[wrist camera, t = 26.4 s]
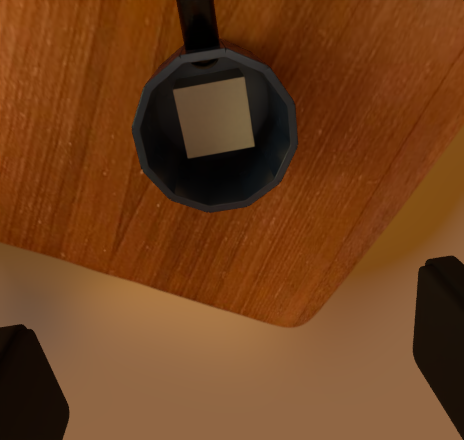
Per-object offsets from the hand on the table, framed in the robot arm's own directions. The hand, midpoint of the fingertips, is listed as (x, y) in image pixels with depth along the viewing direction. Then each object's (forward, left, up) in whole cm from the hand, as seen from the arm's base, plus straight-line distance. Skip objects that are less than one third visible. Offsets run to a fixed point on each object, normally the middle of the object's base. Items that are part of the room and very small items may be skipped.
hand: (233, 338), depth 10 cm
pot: (0, -5, -23) cm, 23 cm away
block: (0, 0, -27) cm, 27 cm away
